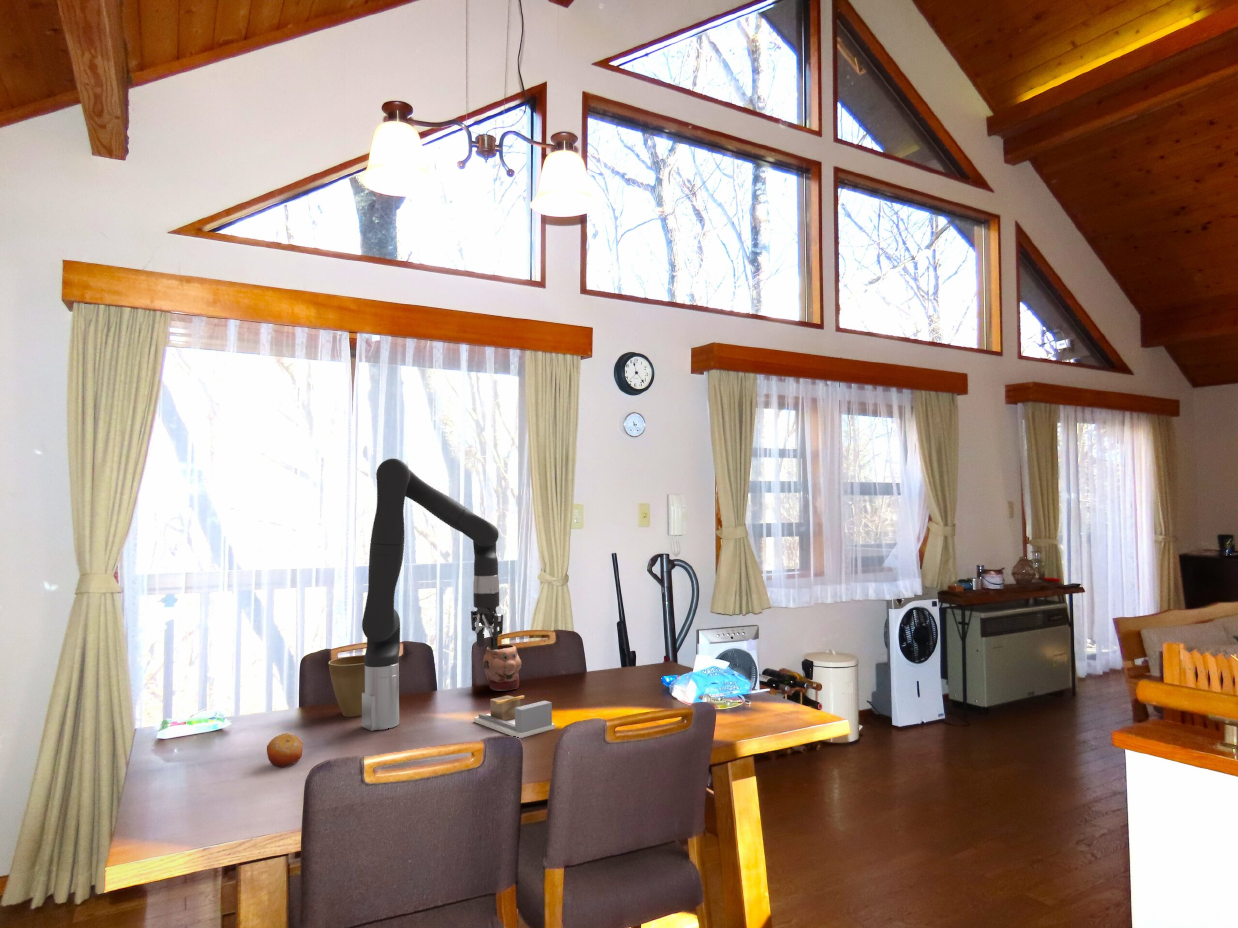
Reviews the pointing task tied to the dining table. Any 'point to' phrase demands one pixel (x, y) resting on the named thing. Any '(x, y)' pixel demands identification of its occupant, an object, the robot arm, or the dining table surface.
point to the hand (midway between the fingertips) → (487, 647)
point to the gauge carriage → (504, 707)
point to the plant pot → (348, 683)
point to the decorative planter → (502, 667)
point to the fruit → (284, 750)
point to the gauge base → (522, 720)
